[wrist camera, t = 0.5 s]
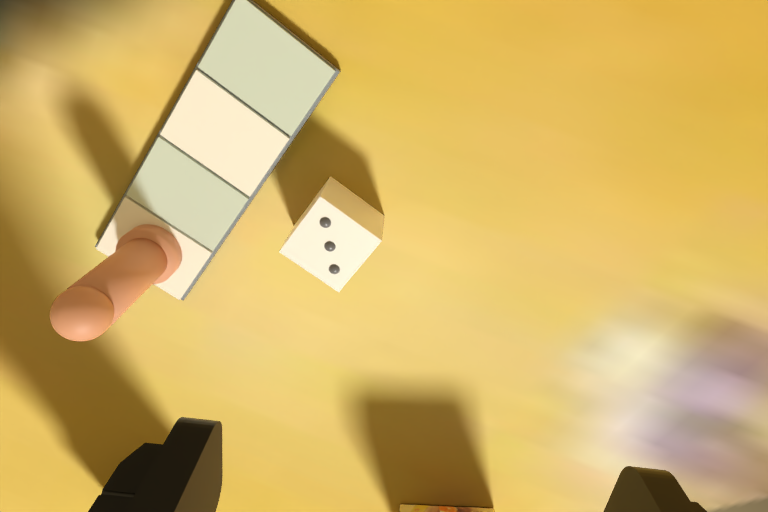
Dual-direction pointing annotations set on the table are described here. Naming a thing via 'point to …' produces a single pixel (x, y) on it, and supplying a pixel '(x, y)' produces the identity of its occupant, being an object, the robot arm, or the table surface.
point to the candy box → (441, 509)
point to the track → (222, 138)
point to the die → (334, 235)
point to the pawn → (116, 283)
